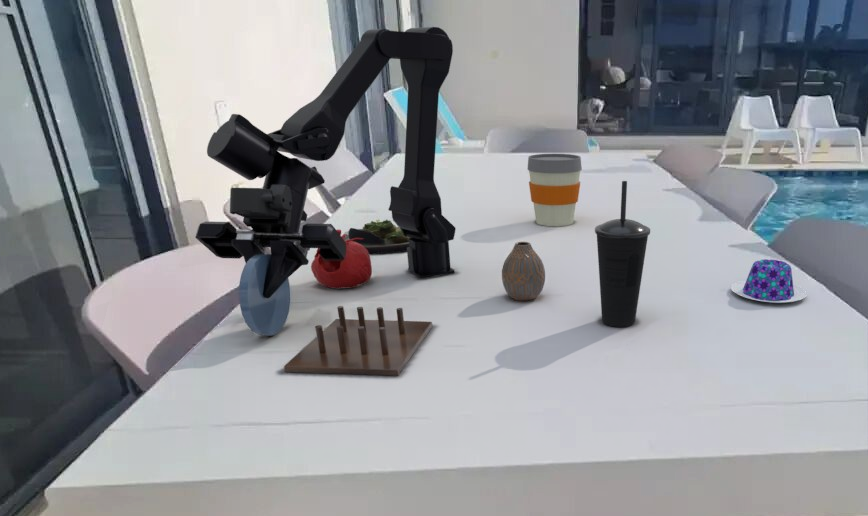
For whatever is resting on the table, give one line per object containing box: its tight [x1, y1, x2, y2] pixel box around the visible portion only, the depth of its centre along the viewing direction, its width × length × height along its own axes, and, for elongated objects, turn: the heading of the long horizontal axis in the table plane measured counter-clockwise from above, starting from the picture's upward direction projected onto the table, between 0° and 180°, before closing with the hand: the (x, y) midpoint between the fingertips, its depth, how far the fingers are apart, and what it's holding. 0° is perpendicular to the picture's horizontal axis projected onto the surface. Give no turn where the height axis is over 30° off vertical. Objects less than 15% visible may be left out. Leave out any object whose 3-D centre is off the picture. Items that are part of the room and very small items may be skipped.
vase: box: [501, 241, 546, 302], centre depth 101 cm, size 7×7×9 cm
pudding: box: [730, 259, 808, 304], centre depth 104 cm, size 12×12×5 cm
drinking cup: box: [594, 180, 651, 328], centre depth 89 cm, size 8×8×20 cm
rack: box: [283, 305, 433, 376], centre depth 83 cm, size 16×14×4 cm
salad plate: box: [343, 218, 411, 255], centre depth 134 cm, size 19×18×5 cm
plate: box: [238, 253, 291, 337], centre depth 86 cm, size 11×1×11 cm, turn 176°
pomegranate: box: [310, 228, 373, 289], centre depth 107 cm, size 10×10×9 cm
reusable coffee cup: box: [527, 153, 582, 227], centre depth 150 cm, size 13×12×15 cm
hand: (260, 296), depth 85 cm, fingers closed on plate, 1 cm apart
